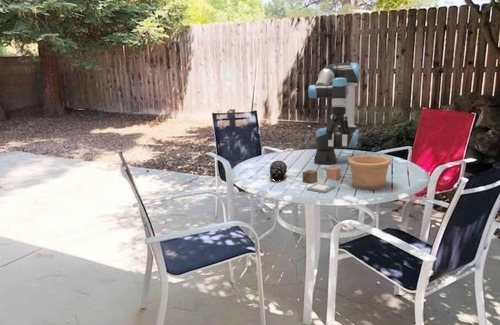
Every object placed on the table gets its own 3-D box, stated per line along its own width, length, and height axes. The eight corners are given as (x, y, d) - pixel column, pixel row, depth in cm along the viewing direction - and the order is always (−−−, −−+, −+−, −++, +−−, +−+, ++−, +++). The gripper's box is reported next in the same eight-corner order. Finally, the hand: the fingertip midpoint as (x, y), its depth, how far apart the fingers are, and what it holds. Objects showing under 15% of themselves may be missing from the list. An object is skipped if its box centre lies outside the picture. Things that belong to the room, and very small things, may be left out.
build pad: (306, 189, 217) (306, 187, 217) (316, 184, 225) (316, 182, 225) (325, 193, 210) (325, 191, 210) (335, 187, 218) (335, 185, 218)
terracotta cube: (326, 178, 236) (326, 168, 235) (331, 176, 241) (331, 166, 239) (335, 180, 233) (335, 169, 231) (340, 177, 237) (340, 167, 236)
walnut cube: (302, 182, 231) (302, 172, 230) (308, 179, 236) (307, 169, 234) (311, 183, 228) (311, 173, 226) (317, 181, 232) (317, 170, 231)
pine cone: (269, 183, 233) (269, 166, 230) (270, 174, 250) (269, 158, 248) (288, 182, 232) (287, 165, 230) (287, 174, 249) (286, 158, 247)
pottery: (365, 194, 206) (366, 166, 203) (339, 183, 226) (339, 158, 222) (398, 187, 214) (400, 160, 211) (371, 177, 234) (371, 153, 230)
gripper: (331, 105, 209) (330, 146, 210) (357, 108, 227) (355, 146, 228) (319, 105, 214) (318, 146, 216) (345, 108, 232) (344, 146, 233)
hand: (337, 146), depth 222 cm, fingers open, 13 cm apart
